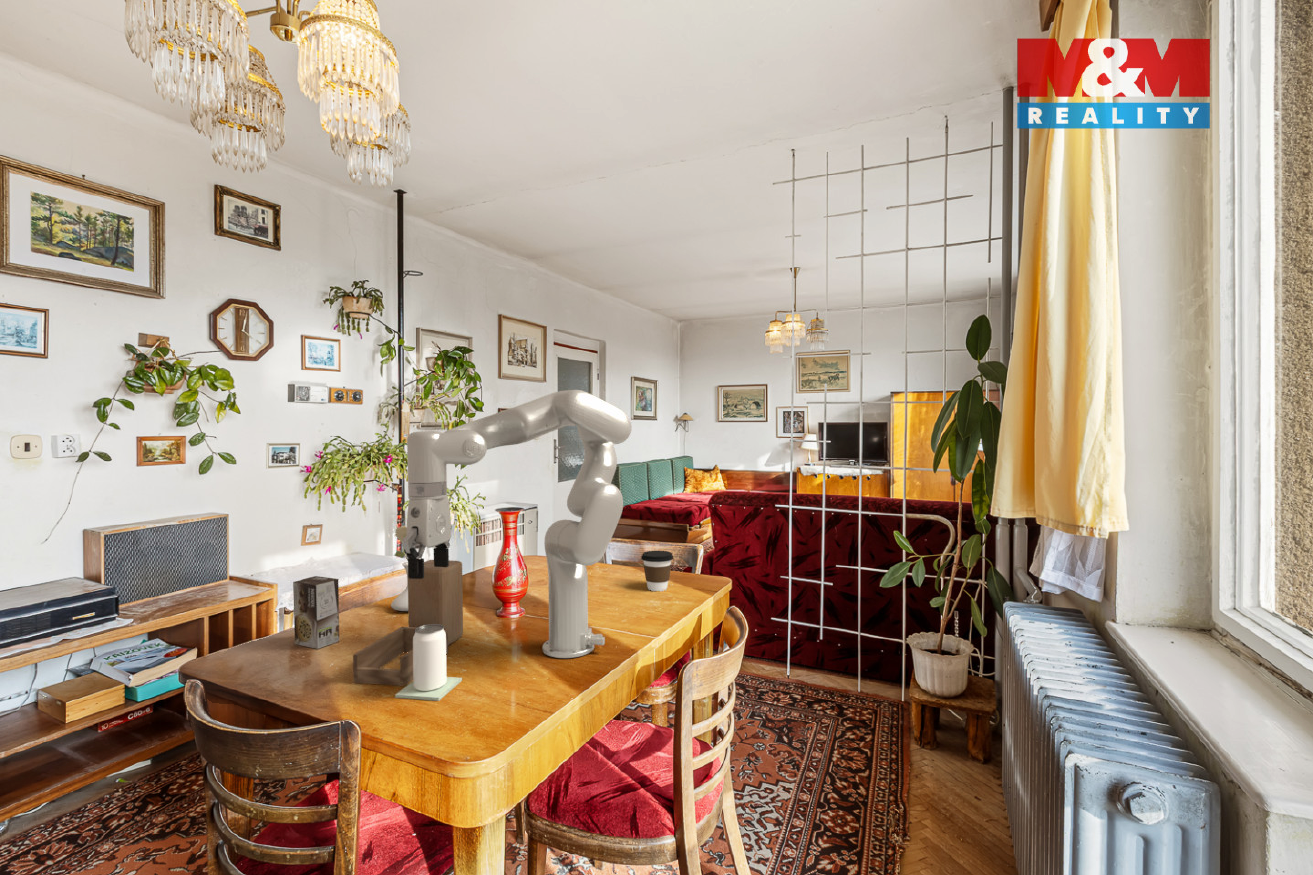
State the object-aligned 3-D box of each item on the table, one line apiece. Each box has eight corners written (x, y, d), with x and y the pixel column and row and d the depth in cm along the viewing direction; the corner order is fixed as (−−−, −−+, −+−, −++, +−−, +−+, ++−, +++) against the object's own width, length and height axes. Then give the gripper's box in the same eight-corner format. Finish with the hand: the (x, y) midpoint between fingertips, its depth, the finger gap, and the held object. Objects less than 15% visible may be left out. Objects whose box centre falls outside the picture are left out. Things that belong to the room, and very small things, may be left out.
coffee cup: (638, 592, 193) (638, 556, 193) (644, 584, 204) (644, 549, 204) (671, 594, 192) (671, 557, 191) (675, 585, 202) (675, 550, 202)
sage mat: (461, 680, 127) (461, 677, 127) (438, 700, 118) (438, 697, 118) (421, 677, 129) (421, 675, 129) (395, 697, 119) (395, 694, 119)
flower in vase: (439, 606, 180) (438, 525, 180) (406, 616, 170) (405, 530, 170) (413, 600, 187) (412, 521, 187) (379, 609, 177) (378, 526, 177)
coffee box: (340, 641, 151) (339, 578, 151) (317, 649, 145) (316, 584, 145) (317, 636, 155) (316, 575, 155) (293, 644, 149) (292, 580, 149)
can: (414, 694, 119) (413, 635, 119) (412, 682, 125) (411, 625, 125) (448, 688, 122) (447, 630, 122) (445, 676, 128) (444, 621, 127)
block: (443, 650, 144) (442, 569, 144) (407, 647, 146) (405, 567, 146) (464, 636, 154) (463, 560, 154) (430, 633, 156) (429, 558, 156)
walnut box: (448, 653, 142) (447, 628, 142) (404, 685, 125) (404, 657, 124) (402, 650, 144) (402, 626, 144) (353, 682, 126) (352, 654, 126)
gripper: (421, 495, 114) (423, 583, 114) (464, 486, 131) (465, 563, 131) (386, 495, 115) (387, 582, 115) (432, 486, 132) (434, 562, 132)
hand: (429, 572), depth 123 cm, fingers open, 9 cm apart
